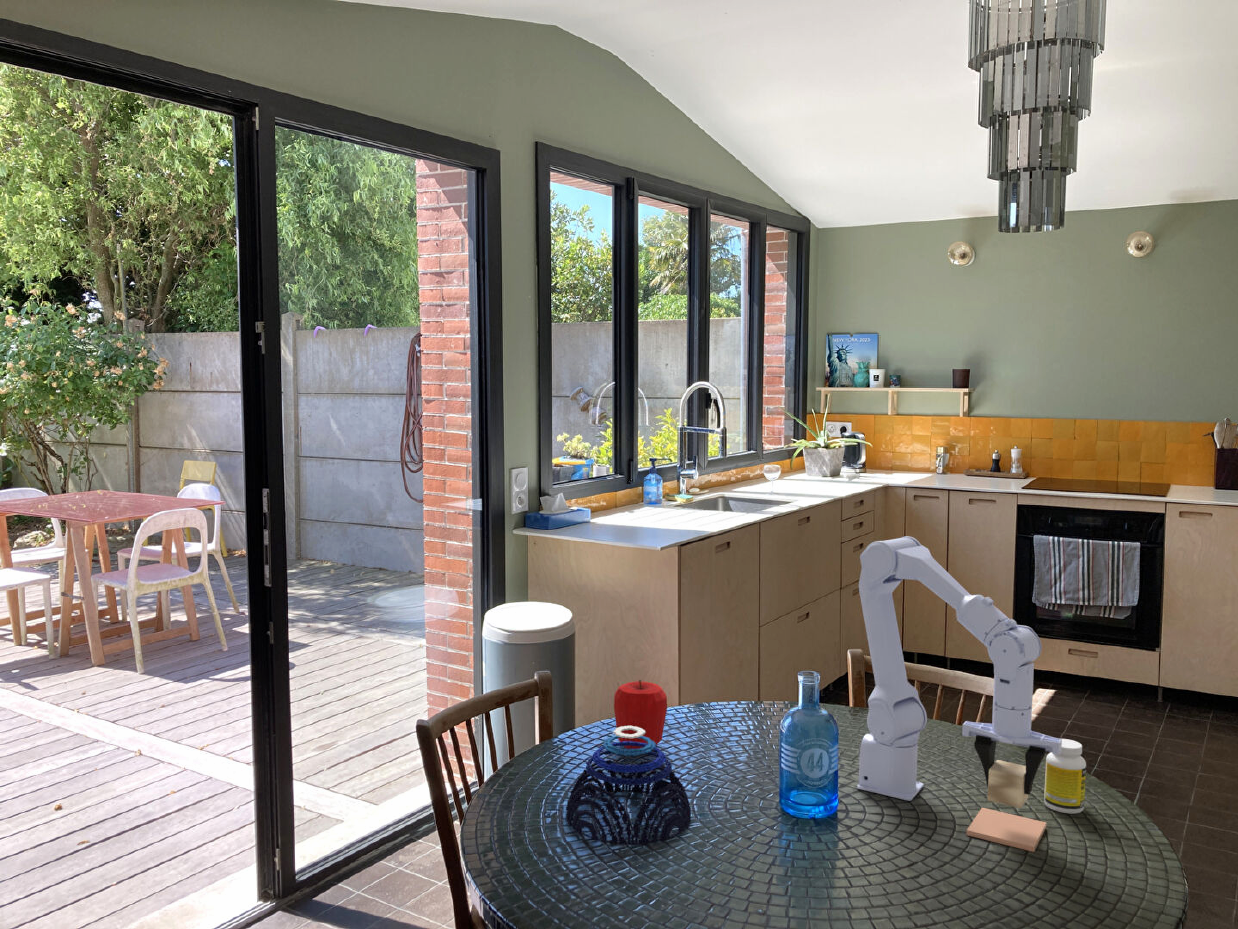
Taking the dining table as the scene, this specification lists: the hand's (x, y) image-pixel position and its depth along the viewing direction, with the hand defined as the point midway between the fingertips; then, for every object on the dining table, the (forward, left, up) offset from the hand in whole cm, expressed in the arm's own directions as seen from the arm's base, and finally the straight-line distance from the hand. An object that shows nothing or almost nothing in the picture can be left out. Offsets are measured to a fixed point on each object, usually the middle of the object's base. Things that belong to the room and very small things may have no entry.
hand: (1008, 788), depth 157 cm
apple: (-67, -3, -7) cm, 67 cm away
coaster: (0, 0, -7) cm, 7 cm away
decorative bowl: (-53, -29, -8) cm, 61 cm away
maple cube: (0, 0, -2) cm, 2 cm away
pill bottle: (+6, +15, -7) cm, 18 cm away
